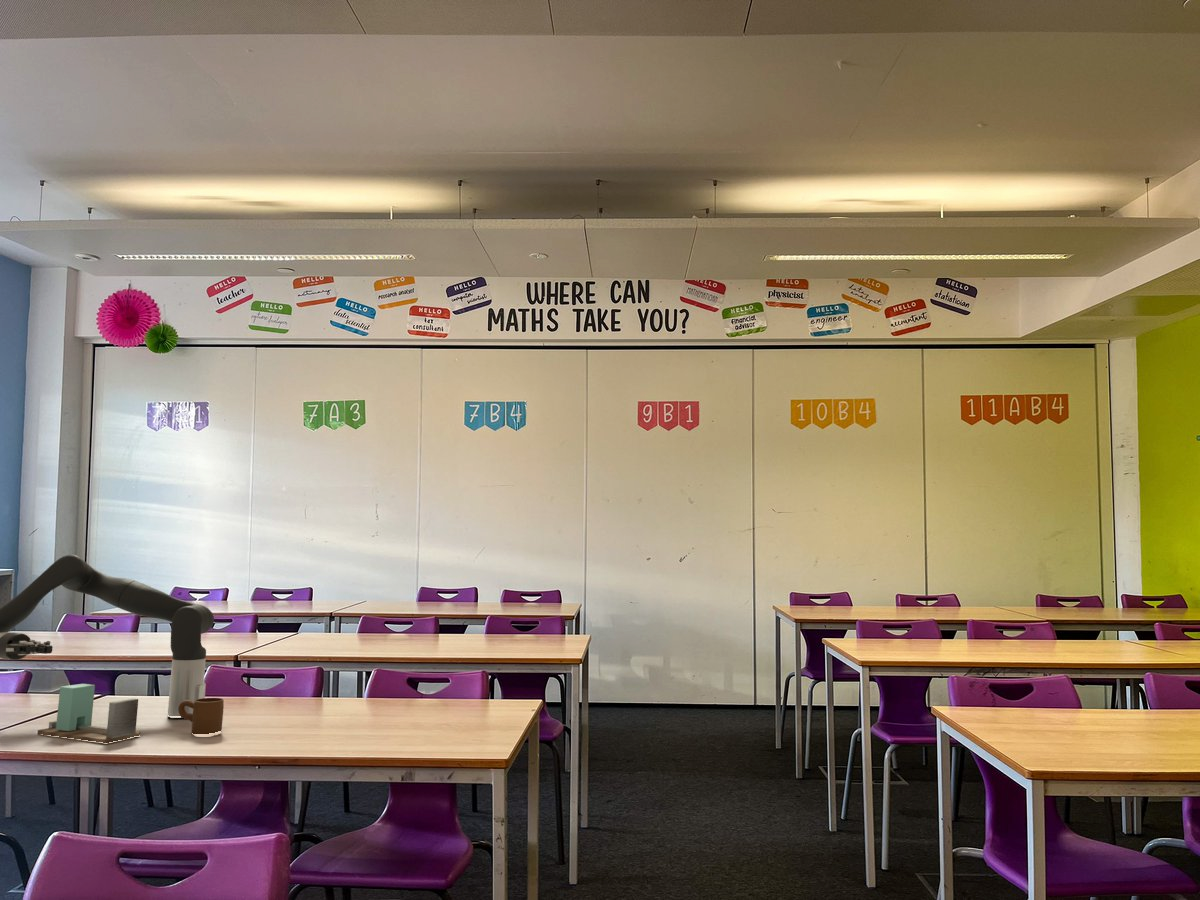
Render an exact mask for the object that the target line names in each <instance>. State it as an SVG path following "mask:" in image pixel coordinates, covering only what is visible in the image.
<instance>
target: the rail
mask: <svg viewBox="0 0 1200 900" xmlns="http://www.w3.org/2000/svg"><path fill="white" fill-rule="evenodd" d="M108 703H109V706H108V713H107V727H105V726H99V725H92V724H91V725H84V724H77V723H76V730H77V731H84V732H91V733H99V734H106V738H110V739H113V738H117V737H122V736H127V735H131V734H135V733H136V732H137V731H136V730H137V719H138V707H139V699H138V698H128V699H122V700H117V701H110V702H108ZM56 723H57V720H52V721H49V722H48V728H51V729H52V728H56Z"/></svg>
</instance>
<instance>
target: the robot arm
mask: <svg viewBox="0 0 1200 900" xmlns="http://www.w3.org/2000/svg"><path fill="white" fill-rule="evenodd" d="M60 586H62V587H63V588H65V589H67V590H69V591H74V592H77V593H81V594H85V595H88V596H93V597H95V598H98V599H100V600H102V601H103V602H106V604H107V603H108V604H110V605H112V606H114V607H116V608H118V609H120V610H123V611H125V612H128V613H130V614H134V615H138V616H142V617H147V618H153V619H158V620H159V619H160V620H164V621H168V622H170V623H171V625H170V650H171V653H172V654H171V655H172V659H171V669H170V670H171V671H170V672H171V673H170V680H169V681H170V682H169V683H170V684H169V694H168V706H167V716H168V715H169V716H180V714H179V711H178V708H179V705H180V704H181V703H182V702H183V701H186V700H190V701H192V702H194V701H195V700H197V699H202V698H206V686H207V683H206V682H205V671H206V669H205V668H206V661H207V660H206V657H207V649H206V648H205V647H203V645H202V634H205V633H207V632H208V631H209V630H211V629H212V627H213V625H214V623H215V617H214V613H213V612H212V610H210V609H209V608H208V607H207V606H205V605H202V604H199V603H195V602H190V601H186V600H183V599H180V598H177V597H174V596H172V595H170V594H169V593H166V592H164V591H162V590H160V589H157V588H154V587H152V586H150V585H148V584H145V583H142V582H140V581H137V580H134V579H132V578H126V577H114V576H111V575H108V574H106V573H104V572H102V571H99V570H98V569H96V568H93V567H92V566H91V565H89V564H88V562H87V561H85V560H84V559H82V558H81V557H80V556H78V555H76V554H67V555H64V556H61V557H59V558H58V559H57V560H56V561H54V562H53V563H52V564H51V565H50V566H48V568H46V569H45V570H44V571H43V572H42V573H41V574H40V575H39V576H37V578H35V579H34V580H33V581H32V582H31V583H30V584H29V585H28V586H27V587H26V588H24V589H23V590H22V591H21V592H20V593H19V594H17V595H16V596H15V597H13V598H12V599H10V600H9V601H7V602H6V603H4V605H1V607H0V659H1V660H9V661H11V660H12V661H19V660H22V659H25V657H27V656H29V655H39V654H46V655H47V654H52V653H53V648H54V647H53V645H51V641H49V640H47V641H43V642H42V641H40V640H39V641H38V640H35V639H31V637H30V636H29V635H28V634H25V633H21V632H20V633H19V632H9V631H11V630H12V629H14V628H15V627H16V626H18V625H19V624H20V623H23V622H24V621H25V620H26V619H27V618H28V617H29V616H31V614H32V613H33V612H34V610H35V609H36V608H37V606H38V605H39V603H40V602H41V601H42V600H43V599H44V598H45V597H46V596H47V595H48V594H49V593H50V592H52V591H53V590H54V589H56V588H58V587H60ZM185 711H186V712H187V713H192V714H193V708H190V707H188V706H185Z"/></svg>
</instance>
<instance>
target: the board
mask: <svg viewBox="0 0 1200 900" xmlns="http://www.w3.org/2000/svg"><path fill="white" fill-rule="evenodd" d="M37 734H43V735H51V736H59V737H67V738H74V739H81V740H88V741H96V742H103V743H109V742H113V741H118V740H123V739H127V738H130V737H134V736H139V735H140V736H141V732H140V731H136V733H135V734H131V735H127V736H122V737H117V738H113V739H110V738H106V734H99V733H91V732H84V731H77V730H72V731H64V730H57V729H56V728H52V729H51V728H49V727H48V728H42V729H37Z"/></svg>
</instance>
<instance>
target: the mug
mask: <svg viewBox="0 0 1200 900" xmlns="http://www.w3.org/2000/svg"><path fill="white" fill-rule="evenodd" d="M224 700H225V699H224V698H221V697H205V698H202V699H197V700H195V701H194V702H192V701H190V700H186V701H183V702H182V703H181V704H180V705H179V708H178V711H179V714H180V716H181V717H182V718H184V719H185V720H189V721H190V722H191V734H192V733H193V734H209V733H215V732H218V731H221V730H223V720H224V705H225V704H224V702H225V701H224ZM185 706H188V707H190V708H193V714H192V713H187V712H186V711H185ZM184 719H183V720H184ZM221 732H222V731H221Z"/></svg>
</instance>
